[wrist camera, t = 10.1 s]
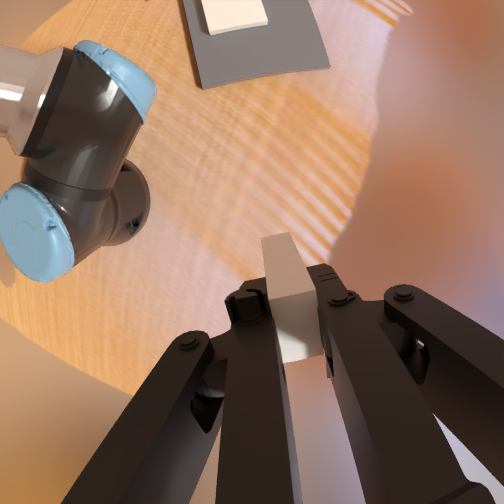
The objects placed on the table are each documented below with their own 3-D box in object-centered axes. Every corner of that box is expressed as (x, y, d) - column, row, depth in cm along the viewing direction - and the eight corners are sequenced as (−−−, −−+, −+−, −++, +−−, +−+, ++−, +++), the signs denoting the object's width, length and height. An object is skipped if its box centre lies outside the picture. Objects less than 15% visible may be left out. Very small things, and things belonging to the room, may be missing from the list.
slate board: (203, 89, 37) (202, 88, 36) (178, -22, 29) (177, -25, 28) (328, 68, 36) (330, 66, 35) (287, -40, 27) (288, -43, 26)
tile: (267, 25, 32) (210, 36, 33) (256, -9, 30) (202, 1, 30) (268, 20, 31) (209, 31, 31) (256, -14, 28) (200, -4, 29)
